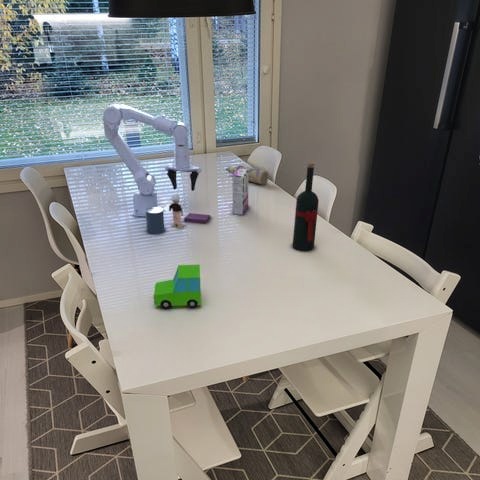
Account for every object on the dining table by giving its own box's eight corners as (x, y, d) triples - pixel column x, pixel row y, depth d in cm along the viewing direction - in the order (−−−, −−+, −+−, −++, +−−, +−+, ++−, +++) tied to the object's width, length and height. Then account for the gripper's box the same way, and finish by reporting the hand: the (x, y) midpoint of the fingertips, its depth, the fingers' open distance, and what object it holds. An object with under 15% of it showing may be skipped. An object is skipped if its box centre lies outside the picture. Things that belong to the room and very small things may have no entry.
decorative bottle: (269, 183, 243) (269, 169, 239) (259, 186, 238) (260, 172, 234) (232, 172, 257) (232, 160, 254) (222, 175, 253) (222, 162, 249)
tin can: (144, 233, 185) (142, 212, 180) (151, 227, 190) (149, 206, 186) (161, 235, 184) (159, 213, 179) (166, 228, 189) (165, 207, 185)
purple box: (184, 221, 196) (184, 218, 195) (189, 215, 202) (189, 212, 201) (205, 223, 194) (205, 220, 194) (210, 217, 200) (210, 214, 199)
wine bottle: (299, 255, 170) (306, 169, 154) (289, 243, 179) (295, 161, 163) (319, 253, 172) (329, 167, 156) (309, 241, 181) (317, 160, 164)
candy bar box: (237, 205, 213) (237, 168, 204) (248, 206, 212) (249, 169, 204) (231, 214, 204) (232, 175, 195) (243, 215, 203) (244, 176, 194)
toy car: (156, 294, 145) (153, 264, 140) (200, 292, 146) (199, 263, 141) (154, 311, 136) (151, 280, 131) (201, 310, 137) (200, 279, 132)
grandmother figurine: (188, 225, 192) (186, 194, 185) (182, 229, 189) (181, 197, 182) (171, 222, 195) (169, 191, 188) (166, 225, 192) (164, 194, 185)
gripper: (161, 156, 189) (164, 191, 196) (196, 158, 186) (198, 193, 193) (167, 152, 195) (169, 186, 202) (201, 154, 192) (203, 188, 199)
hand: (184, 189), depth 198 cm, fingers open, 7 cm apart
